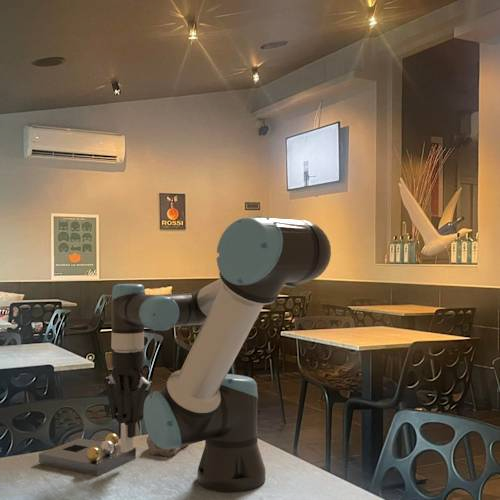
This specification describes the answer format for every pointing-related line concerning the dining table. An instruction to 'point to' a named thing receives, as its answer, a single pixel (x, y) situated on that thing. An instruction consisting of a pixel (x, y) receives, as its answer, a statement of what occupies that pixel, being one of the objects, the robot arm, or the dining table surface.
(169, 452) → the stone
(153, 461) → the dining table surface
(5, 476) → the dining table surface
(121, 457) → the plate
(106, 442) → the steel ball
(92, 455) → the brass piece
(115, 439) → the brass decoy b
